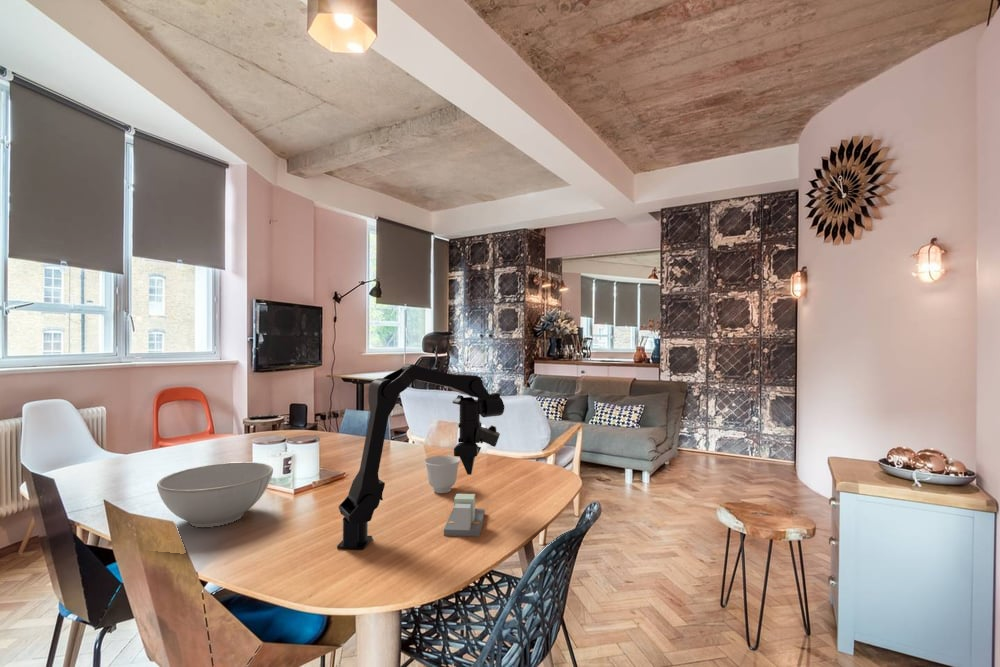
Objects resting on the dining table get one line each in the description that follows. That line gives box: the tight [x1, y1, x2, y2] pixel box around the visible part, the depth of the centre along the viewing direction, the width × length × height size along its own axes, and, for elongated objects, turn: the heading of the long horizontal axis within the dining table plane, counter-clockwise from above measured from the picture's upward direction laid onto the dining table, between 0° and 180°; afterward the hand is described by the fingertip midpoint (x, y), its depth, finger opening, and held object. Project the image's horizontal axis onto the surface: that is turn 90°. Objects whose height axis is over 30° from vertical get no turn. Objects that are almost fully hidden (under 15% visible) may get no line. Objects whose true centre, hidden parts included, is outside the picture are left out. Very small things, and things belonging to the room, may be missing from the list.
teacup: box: [423, 454, 462, 494], centre depth 149 cm, size 12×15×10 cm
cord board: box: [443, 504, 486, 538], centre depth 120 cm, size 15×9×7 cm, turn 177°
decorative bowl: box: [156, 461, 274, 528], centre depth 122 cm, size 27×27×12 cm
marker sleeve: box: [453, 493, 476, 523], centre depth 118 cm, size 4×5×6 cm
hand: (469, 474), depth 126 cm, fingers closed
